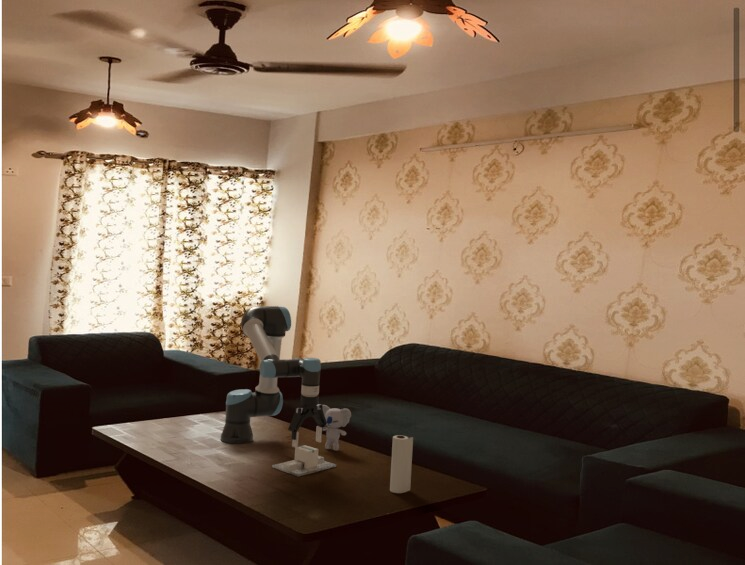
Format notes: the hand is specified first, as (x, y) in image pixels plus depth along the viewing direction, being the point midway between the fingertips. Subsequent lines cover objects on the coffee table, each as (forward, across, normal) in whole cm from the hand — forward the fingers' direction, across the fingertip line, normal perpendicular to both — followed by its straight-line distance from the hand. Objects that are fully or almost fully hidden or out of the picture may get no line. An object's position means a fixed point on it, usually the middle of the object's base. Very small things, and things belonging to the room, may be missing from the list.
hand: (306, 444), depth 306 cm
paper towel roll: (+9, +6, -47) cm, 48 cm away
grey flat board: (+9, -1, -1) cm, 10 cm away
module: (+8, -1, -1) cm, 8 cm away
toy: (+10, +28, +11) cm, 32 cm away
